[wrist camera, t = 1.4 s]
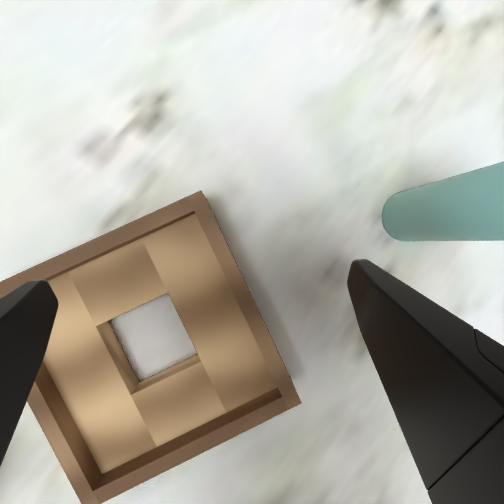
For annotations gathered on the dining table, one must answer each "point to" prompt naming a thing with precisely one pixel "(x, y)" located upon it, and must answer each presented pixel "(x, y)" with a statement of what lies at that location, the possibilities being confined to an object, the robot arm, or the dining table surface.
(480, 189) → the peg
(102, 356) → the bore box
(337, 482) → the dining table surface
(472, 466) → the robot arm
